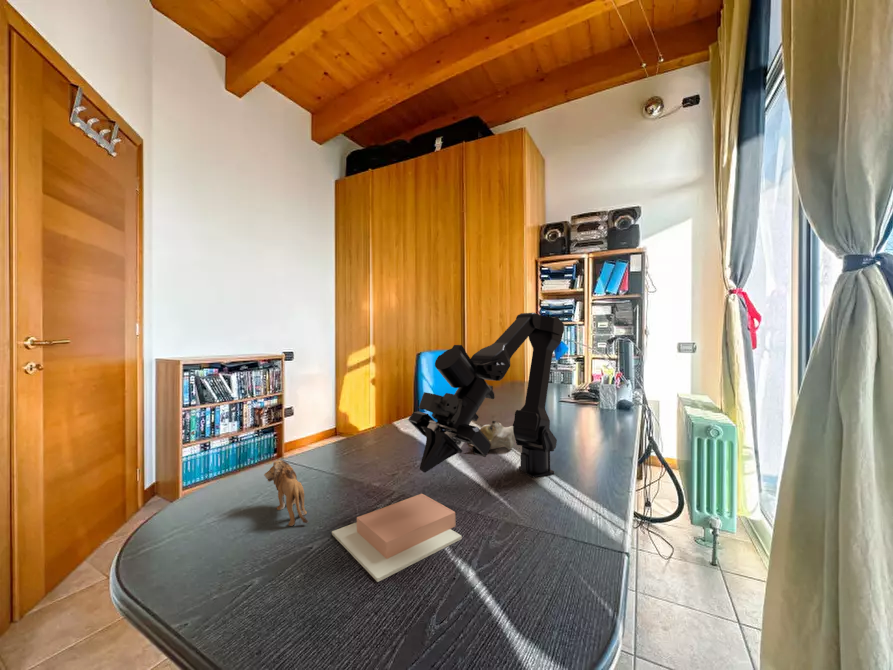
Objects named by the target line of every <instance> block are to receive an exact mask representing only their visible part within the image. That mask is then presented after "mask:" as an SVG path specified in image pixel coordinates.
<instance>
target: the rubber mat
mask: <svg viewBox="0 0 893 670" xmlns="http://www.w3.org/2000/svg"><path fill="white" fill-rule="evenodd" d="M331 535H332V536H333V538H335V540H337V541H338V542H339V544H341V545H342V547H343V548H345V550H346V551H347V552H348V553H349V554H350V555H351V556H352V558H354V559H355V560H356V561H357V563H358V564H359V565H361V566H362V567H363V569H364V570H365V571H366V572H367V573H368V574H369V575H370V576H371V577H372V578H373V579H374V580H375V582H377V583H379V582H381V581H383V580H385V579H387V578H388V577H391V576H393V575H394V574H396V573H399V572H400V571H402V570H404V569H406V568H408V567H410V566H411V565H414V564H416V563H418V562H420V561H421V560H423V559H426V558H428V557H429V556H431V555H434V554H435V553H437V552H440V551H442V550H443V549H445V548H448V546H451V545H453V544H454V543H456V542H459V541H461V540H462V538H463V537H462V536H463V535H461V534H459V533H458V532H456V531H454V530H453V529H452V528H451V529H449V530H447V531H444V532H442V533H440V534H438V535H436V536H434V537H432V538H430V539H428V540H426V541H423V542H421V543H419V544H417V545H415V546H413V547H411V548H409V549H407V550H404V551H402V552H400V553H398V554H396V555H394V556H392V557H390V558H388V559H386V558H385V557H384V556H383V555H382V554H381V553H380V552H379V551H377V550H376V549H375V548H374V547H373V546H372V545H371V544H370V543H369V542H368V541H366V540H365V539H364V538H363V537H362V536H361V535H360V534H359V533H358V532H357V521H356V522H354V523H351V524H349V525H345V526H342V527H340V528H338V529H334V530H332V531H331Z"/></svg>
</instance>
